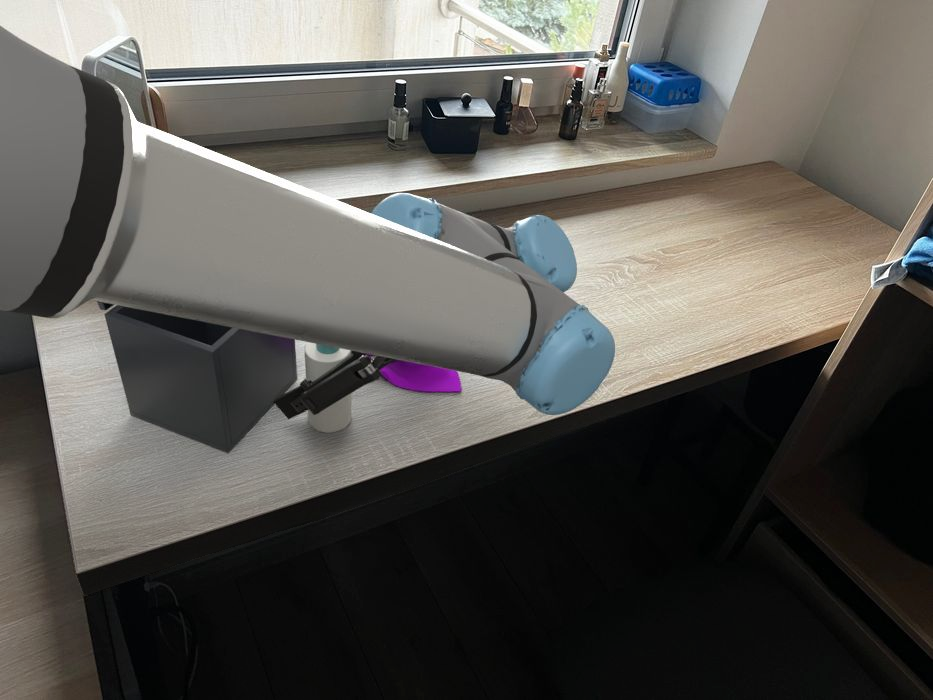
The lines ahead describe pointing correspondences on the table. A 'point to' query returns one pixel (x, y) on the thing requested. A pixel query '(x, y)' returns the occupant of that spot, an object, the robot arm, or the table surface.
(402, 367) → the cloth
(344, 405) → the white bottle
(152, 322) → the dark grey open box
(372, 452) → the table surface
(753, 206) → the table surface
